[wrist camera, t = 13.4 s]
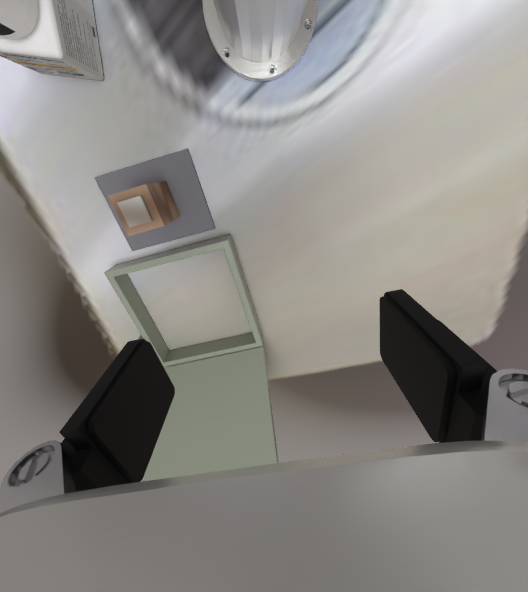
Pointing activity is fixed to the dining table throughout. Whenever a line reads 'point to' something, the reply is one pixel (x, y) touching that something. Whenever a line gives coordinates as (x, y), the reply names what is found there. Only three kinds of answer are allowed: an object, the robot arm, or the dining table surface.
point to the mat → (182, 187)
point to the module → (145, 207)
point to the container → (51, 37)
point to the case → (207, 383)
